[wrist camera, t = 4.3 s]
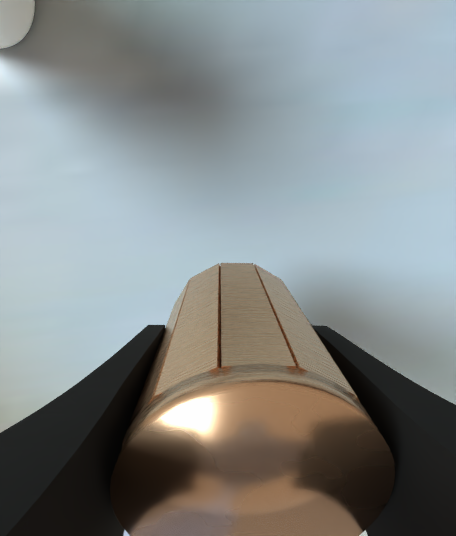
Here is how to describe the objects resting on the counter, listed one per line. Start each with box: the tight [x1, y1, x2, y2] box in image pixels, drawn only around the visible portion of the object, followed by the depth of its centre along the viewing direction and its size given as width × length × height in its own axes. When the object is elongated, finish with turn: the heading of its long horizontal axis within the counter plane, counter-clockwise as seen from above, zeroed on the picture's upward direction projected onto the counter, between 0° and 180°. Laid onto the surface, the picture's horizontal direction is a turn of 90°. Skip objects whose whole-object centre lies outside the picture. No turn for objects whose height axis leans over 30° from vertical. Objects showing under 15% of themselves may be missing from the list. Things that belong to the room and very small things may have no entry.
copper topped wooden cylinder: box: [110, 263, 395, 536], centre depth 8 cm, size 6×6×7 cm
